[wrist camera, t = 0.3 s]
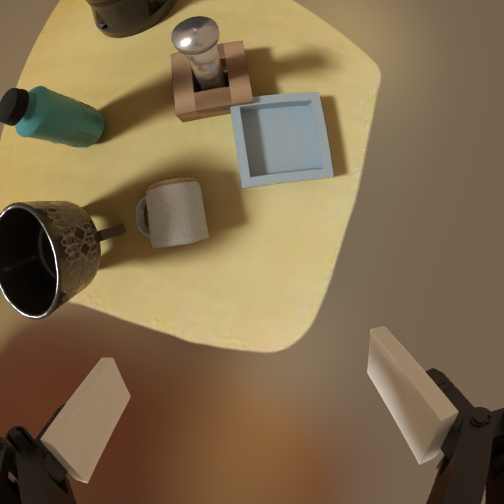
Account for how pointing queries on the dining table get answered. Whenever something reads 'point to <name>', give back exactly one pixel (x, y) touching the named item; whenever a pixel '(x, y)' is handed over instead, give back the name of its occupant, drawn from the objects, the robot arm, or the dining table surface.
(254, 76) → the dining table surface
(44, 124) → the beverage bottle
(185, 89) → the block
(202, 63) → the pin
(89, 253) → the planter
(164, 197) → the ceramic mug
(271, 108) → the tray
